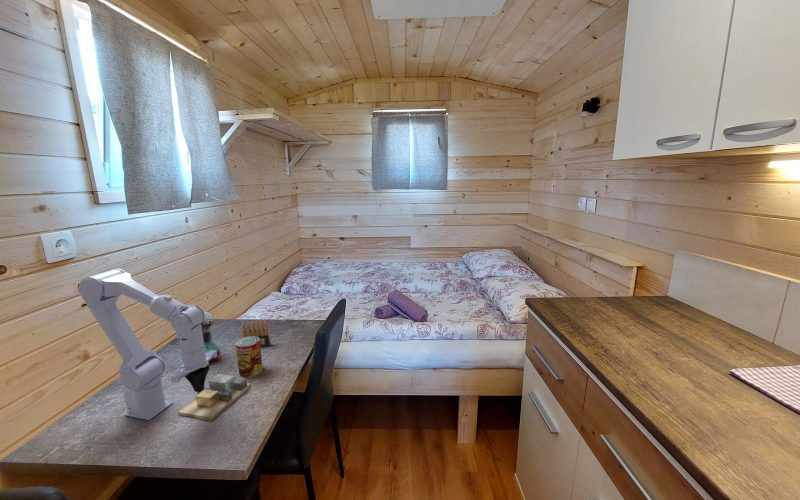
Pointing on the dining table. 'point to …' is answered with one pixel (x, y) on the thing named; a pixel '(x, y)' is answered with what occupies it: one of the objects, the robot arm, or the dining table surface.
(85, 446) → the dining table surface
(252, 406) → the dining table surface
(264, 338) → the ammunition clip
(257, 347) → the canned food
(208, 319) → the power drill
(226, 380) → the steel block
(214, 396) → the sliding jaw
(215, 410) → the vise
